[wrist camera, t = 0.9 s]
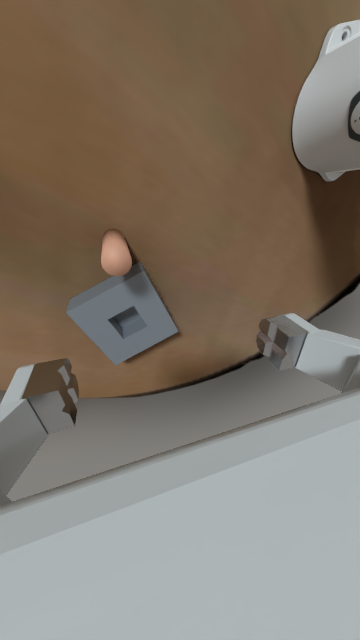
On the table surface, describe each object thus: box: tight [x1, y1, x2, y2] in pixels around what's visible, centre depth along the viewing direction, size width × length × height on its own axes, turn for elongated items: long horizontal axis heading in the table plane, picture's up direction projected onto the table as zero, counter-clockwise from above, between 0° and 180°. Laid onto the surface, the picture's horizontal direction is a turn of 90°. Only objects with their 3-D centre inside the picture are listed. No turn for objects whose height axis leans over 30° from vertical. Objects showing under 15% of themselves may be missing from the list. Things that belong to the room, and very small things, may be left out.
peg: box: [101, 229, 132, 276], centre depth 30 cm, size 4×4×12 cm
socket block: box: [66, 262, 179, 365], centre depth 40 cm, size 14×14×5 cm
